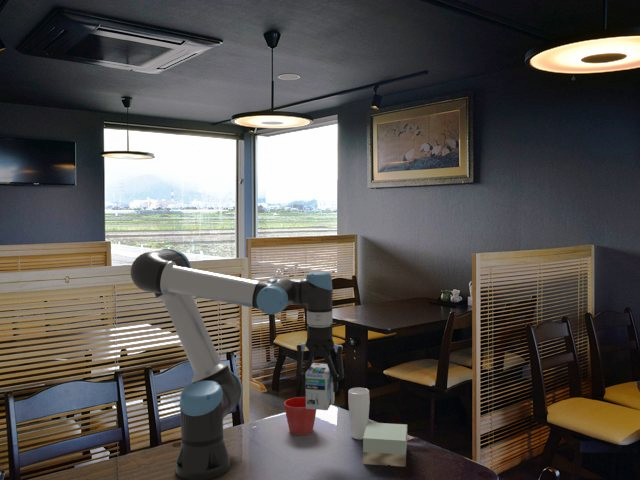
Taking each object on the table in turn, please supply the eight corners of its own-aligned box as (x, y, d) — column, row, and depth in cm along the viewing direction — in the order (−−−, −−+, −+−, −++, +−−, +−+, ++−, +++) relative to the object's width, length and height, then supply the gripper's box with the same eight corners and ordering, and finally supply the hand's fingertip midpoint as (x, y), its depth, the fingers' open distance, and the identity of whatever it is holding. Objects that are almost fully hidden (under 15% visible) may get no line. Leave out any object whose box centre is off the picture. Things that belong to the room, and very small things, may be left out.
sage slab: (363, 451, 156) (363, 438, 156) (367, 435, 168) (367, 422, 168) (405, 454, 154) (405, 440, 154) (407, 437, 166) (407, 424, 166)
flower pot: (288, 423, 188) (287, 395, 187) (319, 425, 186) (319, 396, 186) (281, 436, 177) (280, 406, 177) (315, 437, 176) (314, 408, 175)
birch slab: (363, 465, 157) (362, 451, 157) (366, 447, 169) (366, 434, 168) (405, 468, 155) (405, 454, 154) (406, 449, 166) (406, 436, 166)
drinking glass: (373, 435, 177) (373, 389, 176) (363, 442, 171) (363, 395, 170) (355, 431, 180) (354, 386, 180) (345, 438, 175) (344, 392, 174)
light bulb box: (327, 411, 156) (327, 373, 156) (304, 409, 158) (304, 372, 157) (334, 398, 167) (334, 363, 166) (312, 397, 168) (312, 362, 168)
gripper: (284, 326, 159) (284, 404, 160) (351, 328, 156) (351, 408, 157) (289, 321, 167) (290, 395, 168) (354, 323, 163) (354, 399, 164)
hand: (320, 401), depth 162 cm, fingers closed on light bulb box, 7 cm apart
